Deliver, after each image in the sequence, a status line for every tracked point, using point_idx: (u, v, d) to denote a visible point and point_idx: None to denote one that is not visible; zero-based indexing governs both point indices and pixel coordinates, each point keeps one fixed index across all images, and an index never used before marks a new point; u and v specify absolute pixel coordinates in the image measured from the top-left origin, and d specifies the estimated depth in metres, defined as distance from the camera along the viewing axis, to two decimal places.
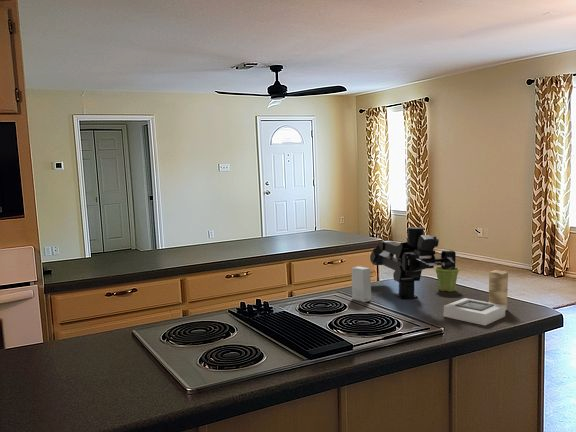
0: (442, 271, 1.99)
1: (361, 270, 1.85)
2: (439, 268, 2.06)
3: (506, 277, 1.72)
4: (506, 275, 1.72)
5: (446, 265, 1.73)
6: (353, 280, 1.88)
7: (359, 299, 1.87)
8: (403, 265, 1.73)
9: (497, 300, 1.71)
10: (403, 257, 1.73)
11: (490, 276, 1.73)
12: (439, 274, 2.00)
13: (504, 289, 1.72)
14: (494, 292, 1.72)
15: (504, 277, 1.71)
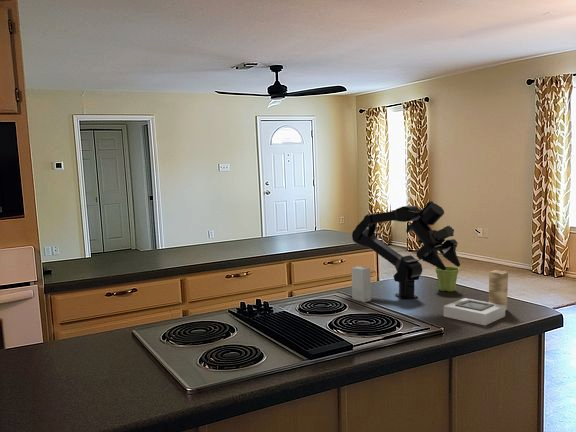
0: (442, 271, 1.99)
1: (361, 270, 1.85)
2: (439, 268, 2.06)
3: (506, 277, 1.72)
4: (506, 275, 1.72)
5: (447, 255, 1.84)
6: (353, 280, 1.88)
7: (359, 299, 1.87)
8: (420, 254, 1.76)
9: (497, 300, 1.71)
10: (424, 248, 1.74)
11: (490, 276, 1.73)
12: (439, 274, 2.00)
13: (504, 289, 1.72)
14: (494, 292, 1.72)
15: (504, 277, 1.71)
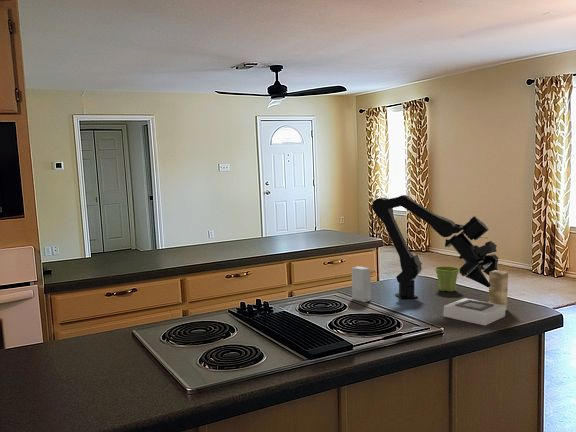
0: (442, 271, 1.99)
1: (361, 270, 1.85)
2: (439, 268, 2.06)
3: (506, 277, 1.72)
4: (506, 275, 1.72)
5: (488, 271, 1.81)
6: (353, 280, 1.88)
7: (359, 299, 1.87)
8: (463, 270, 1.72)
9: (497, 300, 1.71)
10: (468, 265, 1.70)
11: (490, 276, 1.73)
12: (439, 274, 2.00)
13: (504, 289, 1.72)
14: (494, 292, 1.72)
15: (504, 277, 1.71)
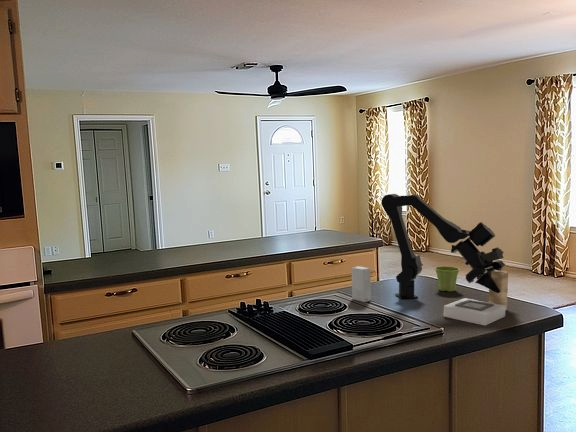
0: (442, 271, 1.99)
1: (361, 270, 1.85)
2: (439, 268, 2.06)
3: (506, 277, 1.72)
4: (506, 275, 1.72)
5: None
6: (353, 280, 1.88)
7: (359, 299, 1.87)
8: (470, 277, 1.70)
9: (497, 300, 1.71)
10: (475, 272, 1.69)
11: None
12: (439, 274, 2.00)
13: (504, 289, 1.72)
14: (494, 292, 1.72)
15: (504, 277, 1.71)
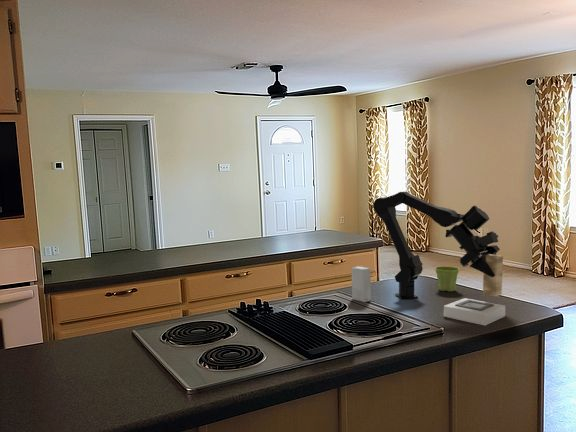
0: (442, 271, 1.99)
1: (361, 270, 1.85)
2: (439, 268, 2.06)
3: (501, 261, 1.70)
4: (501, 259, 1.70)
5: None
6: (353, 280, 1.88)
7: (359, 299, 1.87)
8: (464, 261, 1.68)
9: (492, 284, 1.69)
10: (470, 255, 1.66)
11: None
12: (439, 274, 2.00)
13: (499, 273, 1.69)
14: (488, 277, 1.70)
15: (499, 261, 1.69)
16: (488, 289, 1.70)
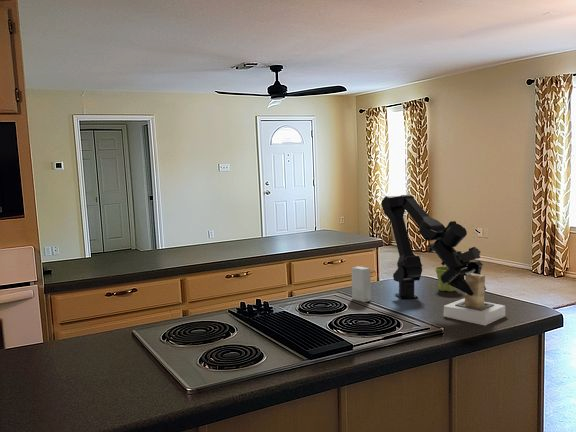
0: (442, 271, 1.99)
1: (361, 270, 1.85)
2: (439, 268, 2.06)
3: (483, 281, 1.65)
4: (483, 279, 1.65)
5: None
6: (353, 280, 1.88)
7: (359, 299, 1.87)
8: (444, 278, 1.63)
9: (474, 304, 1.64)
10: (450, 272, 1.61)
11: (466, 280, 1.65)
12: (439, 274, 2.00)
13: (480, 293, 1.64)
14: (470, 297, 1.65)
15: (481, 281, 1.64)
16: None
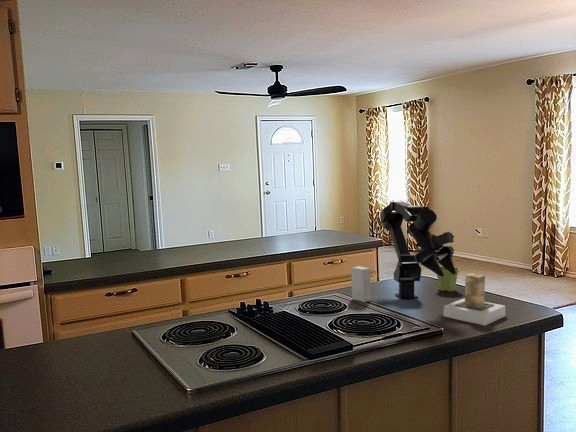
0: None
1: (361, 270, 1.85)
2: None
3: (483, 281, 1.65)
4: (483, 279, 1.65)
5: (443, 262, 1.78)
6: (353, 280, 1.88)
7: (359, 299, 1.87)
8: (419, 257, 1.69)
9: (474, 304, 1.64)
10: (425, 252, 1.67)
11: (466, 280, 1.65)
12: None
13: (480, 293, 1.64)
14: (470, 297, 1.65)
15: (481, 281, 1.64)
16: None
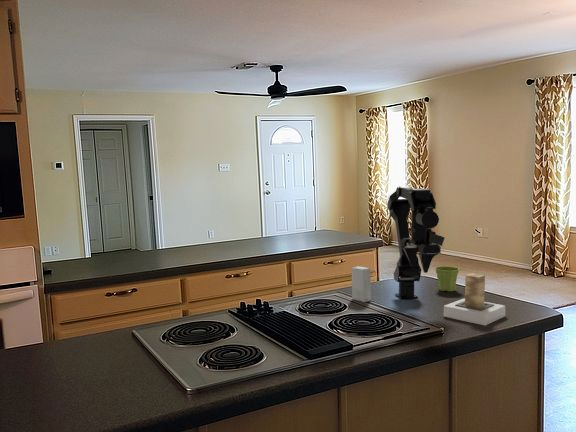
0: (442, 271, 1.99)
1: (361, 270, 1.85)
2: (439, 268, 2.06)
3: (483, 281, 1.65)
4: (483, 279, 1.65)
5: (409, 252, 1.81)
6: (353, 280, 1.88)
7: (359, 299, 1.87)
8: (429, 249, 1.67)
9: (474, 304, 1.64)
10: (437, 249, 1.68)
11: (466, 280, 1.65)
12: (439, 274, 2.00)
13: (480, 293, 1.64)
14: (470, 297, 1.65)
15: (481, 281, 1.64)
16: None
